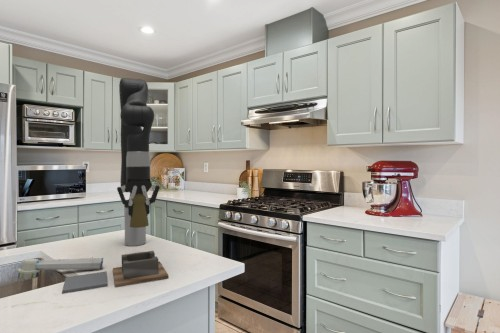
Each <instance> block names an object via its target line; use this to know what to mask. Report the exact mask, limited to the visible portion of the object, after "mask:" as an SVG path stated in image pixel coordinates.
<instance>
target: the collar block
mask: <svg viewBox="0 0 500 333" xmlns="http://www.w3.org/2000/svg"><path fill="white" fill-rule="evenodd" d="M112 275H113V281H114V288H119V287H125V286H130V285H131V286H132V285H136V284H144V283H149V282H155V281H162V280H166V279H169V273H168V272H167V270H166V269H165V267H164V266H163V264H162V263H161V261H160V260H159V257H158V256H156V253H155V251H154V250H149V251H141V252H134V253H126V254H121V266H118V267H113V268H112Z"/></svg>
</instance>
